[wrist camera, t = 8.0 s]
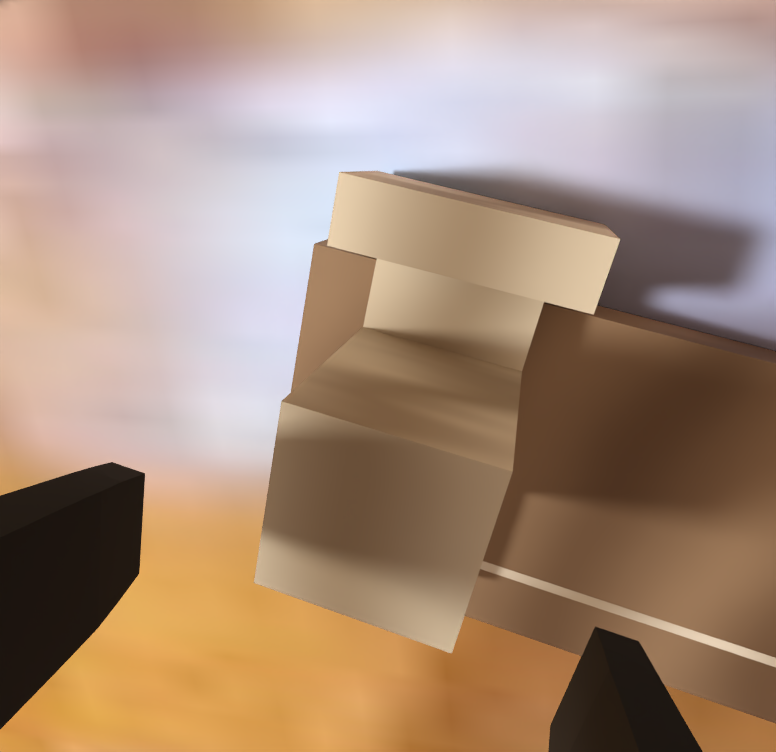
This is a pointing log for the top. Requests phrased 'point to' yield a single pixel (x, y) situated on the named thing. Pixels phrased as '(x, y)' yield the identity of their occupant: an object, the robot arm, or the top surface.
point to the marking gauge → (418, 402)
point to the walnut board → (622, 489)
